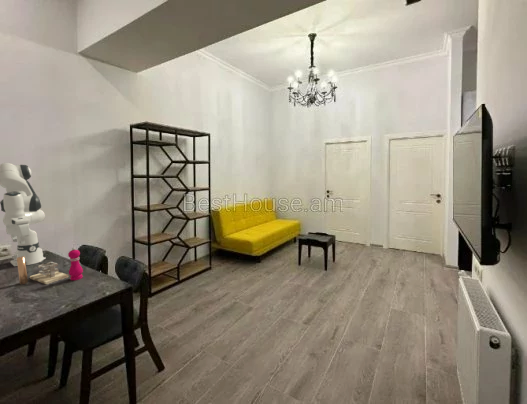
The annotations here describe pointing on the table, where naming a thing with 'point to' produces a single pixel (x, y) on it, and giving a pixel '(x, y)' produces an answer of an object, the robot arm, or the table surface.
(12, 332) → the table surface
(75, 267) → the pepper mill
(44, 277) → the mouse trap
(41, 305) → the table surface
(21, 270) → the brown rounded cylinder
